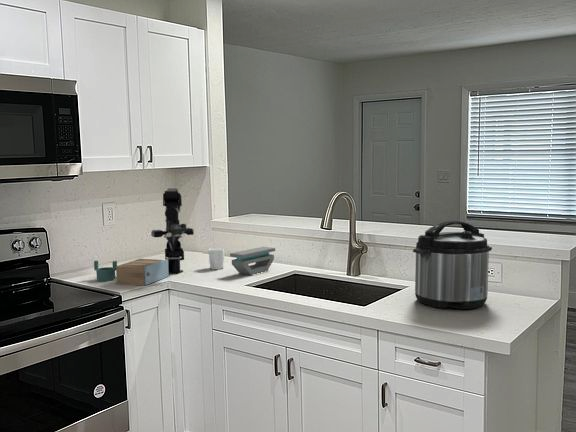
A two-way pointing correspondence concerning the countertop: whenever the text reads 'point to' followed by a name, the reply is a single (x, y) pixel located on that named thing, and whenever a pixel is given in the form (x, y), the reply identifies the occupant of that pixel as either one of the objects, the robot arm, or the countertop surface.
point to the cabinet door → (156, 271)
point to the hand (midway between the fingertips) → (173, 250)
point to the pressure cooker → (452, 267)
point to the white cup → (216, 258)
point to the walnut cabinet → (133, 271)
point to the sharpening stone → (253, 260)
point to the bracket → (105, 272)
